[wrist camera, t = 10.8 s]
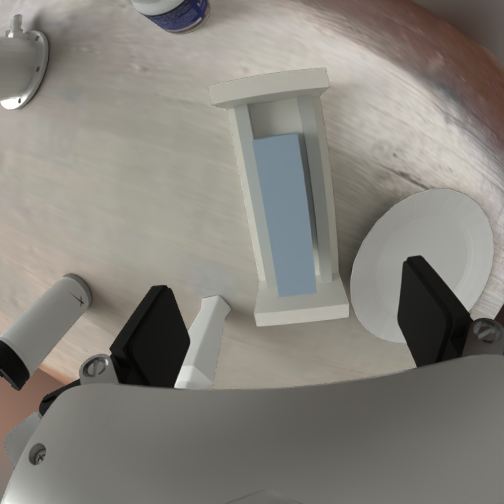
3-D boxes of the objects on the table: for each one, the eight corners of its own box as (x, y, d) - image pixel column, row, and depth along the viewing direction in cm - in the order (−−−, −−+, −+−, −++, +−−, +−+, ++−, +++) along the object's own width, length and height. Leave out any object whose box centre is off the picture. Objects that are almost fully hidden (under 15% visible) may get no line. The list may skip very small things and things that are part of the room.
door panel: (261, 136, 26) (251, 140, 18) (292, 132, 25) (297, 133, 17) (280, 250, 31) (279, 297, 22) (308, 246, 30) (316, 292, 22)
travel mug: (95, 284, 37) (11, 378, 19) (90, 314, 39) (20, 402, 21) (64, 264, 36) (-24, 344, 18) (61, 294, 39) (-13, 372, 21)
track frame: (225, 95, 25) (207, 86, 19) (315, 81, 24) (325, 67, 17) (262, 289, 34) (256, 326, 27) (338, 280, 32) (348, 317, 26)
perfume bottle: (208, 285, 34) (167, 378, 21) (238, 305, 35) (213, 403, 22) (191, 308, 36) (149, 398, 23) (218, 326, 37) (189, 419, 23)
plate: (466, 321, 33) (472, 330, 31) (341, 339, 36) (343, 351, 34) (494, 187, 25) (505, 191, 23) (346, 184, 28) (351, 189, 26)
